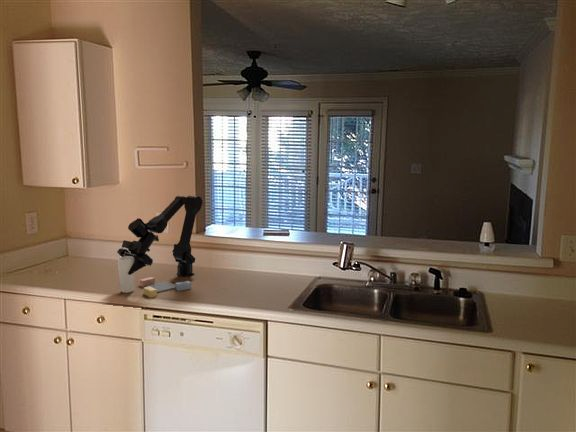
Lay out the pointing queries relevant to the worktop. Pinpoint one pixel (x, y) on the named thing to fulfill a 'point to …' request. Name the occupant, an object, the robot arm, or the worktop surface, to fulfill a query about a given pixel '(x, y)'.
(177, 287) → the brick slate blue
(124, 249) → the robot arm
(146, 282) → the brick terracotta
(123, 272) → the drinking glass
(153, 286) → the slate coaster
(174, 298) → the worktop surface
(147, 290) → the brick mustard
